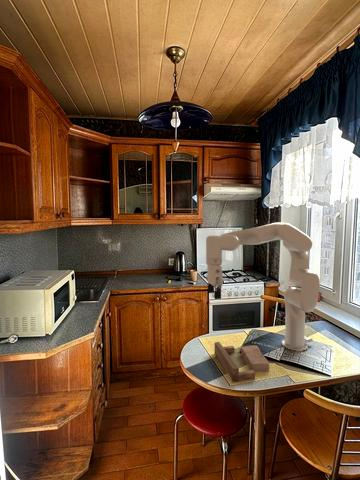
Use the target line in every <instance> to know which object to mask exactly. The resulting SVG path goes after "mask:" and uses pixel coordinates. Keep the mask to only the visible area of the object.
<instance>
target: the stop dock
mask: <svg viewBox="0 0 360 480" xmlns="http://www.w3.org/2000/svg"><path fill="white" fill-rule="evenodd" d="M231 354H235V347H234V345H230V346H223V345H222V343H221V342H220V341H217V342H214V355H215V356H216V358H217V359H218V361H219V363H220V364H221V366H222V367H223V369H224V370H225V372H226V374H227V375H228V377H229V378H230V380H231V381H232V383H239V382H245V381H246V382H247V381H251V380H255V379H256V373H255V372H254V370H250V369H249V370H244V371H243V370H242V371H240V368H239V366H238V365H237V364H236V363H235V361H234V360H233V358H232V357H231Z"/></svg>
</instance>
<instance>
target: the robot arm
mask: <svg viewBox="0 0 360 480" xmlns="http://www.w3.org/2000/svg"><path fill="white" fill-rule="evenodd" d="M205 239H206V240H205V241H206V242H205V254H206V255H205V258H206V259H205V260H206V261H205V263H206V265H207V268H206V269H207V271H206V277H207V293H208V294H213V297H214V300H222V286H223V283H224V280H223V279H224V278H223V267H222V265H223V251H225V252H226V251H228V252H234V251H237V249H238V248H239V247H240V246H242V245H250V246H251V245H252V246H253V245H255V246H256V245H261V244H265V243H269V242H270V243H271V242H274V241H277V240H278V241H282V245H283V247H284V248H285V249H287V250H288V252H289V254H290V258H291V260H290V261H291V262H290V270H289V276H288V277H289V278H288V279H289V281H290V283H291V284H292V285H293V286H290V287H288V288H287V289H286V290H285V292H284V294H283V295H284V296H283V298H284V299H283V300H284V305H285V306H284V308H285V323H284V324H285V325H284V326H285V327H284V329H285V330H284V332H285V333H284V339H283V340H282V341H281V345H282V347H284V346H285V347H286V348H285V347H284V348H285V349H287V348H288V349H287V350H289V349H291V350H290V351H292V350H296V351H295V352H304V351H303V350H305V351H306V349H307V350H308V343H311V342H313V341H314V340H313V338H312V337H309V338H308V336H306V335H305V333H306V313H311V312H313V311H314V310H315V309H316V307H317V305H318V299H319V292H320V286H321V285H320V284H321V282H320V278H319V275H318V274H317V273H316V272H315V271H314V270H313V271H312V270H310V255H309V252H310V250H311V249H312V247H313V240H312V238H311V237H310V236H308V235H307V234H306V233H304V232H303V231H301V230H300V229H298V228H297V227H296V226H293V225H292V224H290V223H288V222H272V223H268V224H265V225H261V226H256V227H250V228H245V229H241V230H234V231H229V232H224V233H222V234H220V235H208V236H206V238H205ZM295 286H296V287H295Z"/></svg>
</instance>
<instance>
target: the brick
mask: <svg viewBox="0 0 360 480" xmlns="http://www.w3.org/2000/svg"><path fill="white" fill-rule="evenodd" d="M240 349H241V350H240V351H241V353H240V354H241V357H242V358H243V360H244V362H245V363H246V364H247V366H248V368H249V370H254V372H255V374H257V373H269V372H270V363H269V361H268V359H267V358H266V357H265V356H264V354H263V353H262V351H261V350H260V348H259V346H257V345H245V346H241V348H240Z"/></svg>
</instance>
